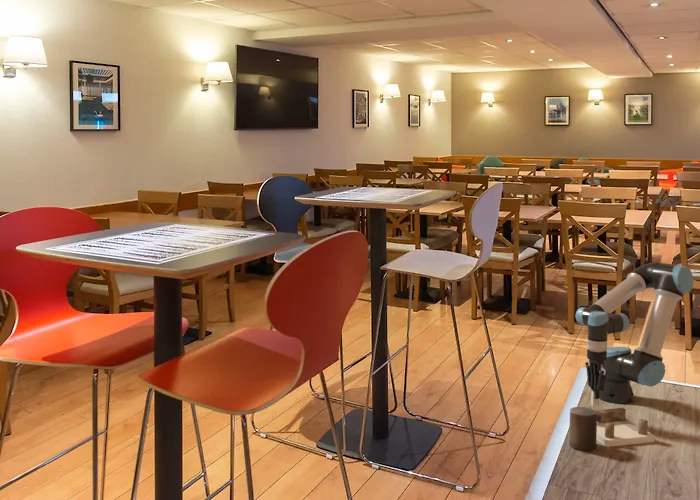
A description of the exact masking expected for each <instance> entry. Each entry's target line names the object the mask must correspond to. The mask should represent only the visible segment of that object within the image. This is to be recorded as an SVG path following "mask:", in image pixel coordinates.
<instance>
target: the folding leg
mask: <svg viewBox="0 0 700 500" xmlns="http://www.w3.org/2000/svg"><path fill="white" fill-rule="evenodd" d="M595 410H596V409H595ZM596 411H597V421H598V422H599V423H602V422H612V421H624V420H626V418H627V417H626V416H627V409H626V408H625V407H617V408H608V409H607V408H605V409H597V410H596Z"/></svg>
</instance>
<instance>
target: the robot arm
mask: <svg viewBox="0 0 700 500" xmlns="http://www.w3.org/2000/svg"><path fill="white" fill-rule="evenodd" d="M693 287H694V276H693V272H692V270H691V269H689V267H688V266H685V265H680V264H675V263H673V264H672V263H663V262H659V261H658V262H657V261H656V262H655V261H654V262H649V263H646V264H643V265H640V266H639V267H637V268H635V269H633V270H632V271H631V272H629V273H628V274H627V276H626V278H625V279H624V280H623V281H621V282H620V283H619V284H617V285H616V286H615V287H613V288H612V289H611V290H610V291H608V292H607V293H605V294H604V295H603V296H602V297H600V298H599V299H597V300H596V301H595V302H594V303H592V305H590V306H589V307H585V306H584V307H579V308H578V309H577V310H576V312H575V320H576V323H578V324H580V325H582V326H586V327H587V344H586V345H587V346H586V347H587V350H586V358H587V360H588V361H586V362H585V367H586V375H587V376H586V377H587V386H588V387H590V390H591V392H590V396H591V398H590V406H591V407H598V406H600V400H602V401H604V402H608V403H612V404H613V403H614V404H628V403H631V402H634V399H635V398H634V396H635V395H634V391H633V388H632V385H631V382H633V383H636V384H640V385H641V386H647V387H655V386H657V385H659V383H660V382H662V381H663V379H664V377H665V375H666V374H665V373H666V365H665V363H664V362H663V360H664V357H663V355H662V354H661V352H662V349H663V348H664V343H665V340H666V337H667V334H668V331H669V328H670V325H671V321H672V320H673V319H672V318H673V315H674V312H675V309H676V306H677V303H678V301H680V300H683V297H684V295H687V294H689V293H690V292H691V291H692V289H693ZM647 289H654V290H653V291H654V294H655V298H654V300H653V305H652V308H651V310H650V313H649V315H648V316H649V317H648V319H647V323H646V326H645V329H644V333H643V335H642V337H641V342H640V345H639V346H638V347H636V348H634V350H633V353H632V350H631V348H630V347H626V346H610V347H608V335H611V334H615V333H616V334H617V333H622V332H625V331H627V330H628V329H629V328H630V319H629V317H628V316H627V315H626V314H625V313H622V312H621V313H620V312H619V313H614V311H616V309H618V308H620V307H621V306H622V305H623V304H624V303H626V302H627V301H628V300H630V299H631V298H632V297H634V296H635V295H636V294H637V293H638V292H640V293H641V292H644V291H645V290H647Z"/></svg>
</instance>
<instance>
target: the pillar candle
mask: <svg viewBox="0 0 700 500" xmlns="http://www.w3.org/2000/svg"><path fill="white" fill-rule="evenodd" d="M596 436H597V411H596V409H594V408H591V407H587V406H573V407H571V408H570V409H569V435H568V437H569V439H568V441H569V442H568V444H569V447H571V448H572V449H574V450H578V451H583V452H589V451H594V450H596V449H597V440H596Z"/></svg>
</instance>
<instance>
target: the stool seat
mask: <svg viewBox="0 0 700 500" xmlns="http://www.w3.org/2000/svg"><path fill="white" fill-rule="evenodd" d="M648 423H649V420H647V419H643V418H641V419H640V418H639V419H638V424H637V423H635V422H633V421H632V420H630V419H629V418H627V417H626V420H624V421H612V422H602V423H599V422H598V421H597V436H596V441H598V443H600V444H602V445H603V446H604V447H606V448H610V447H611V446H612V447H620V446H630V445H638V444H639V445H641V444H648V443H655V442H656V441H655V437H656V435H654V434H653V433H651V432H650V431H648V429H649V428H648V426H649V425H648Z"/></svg>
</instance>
